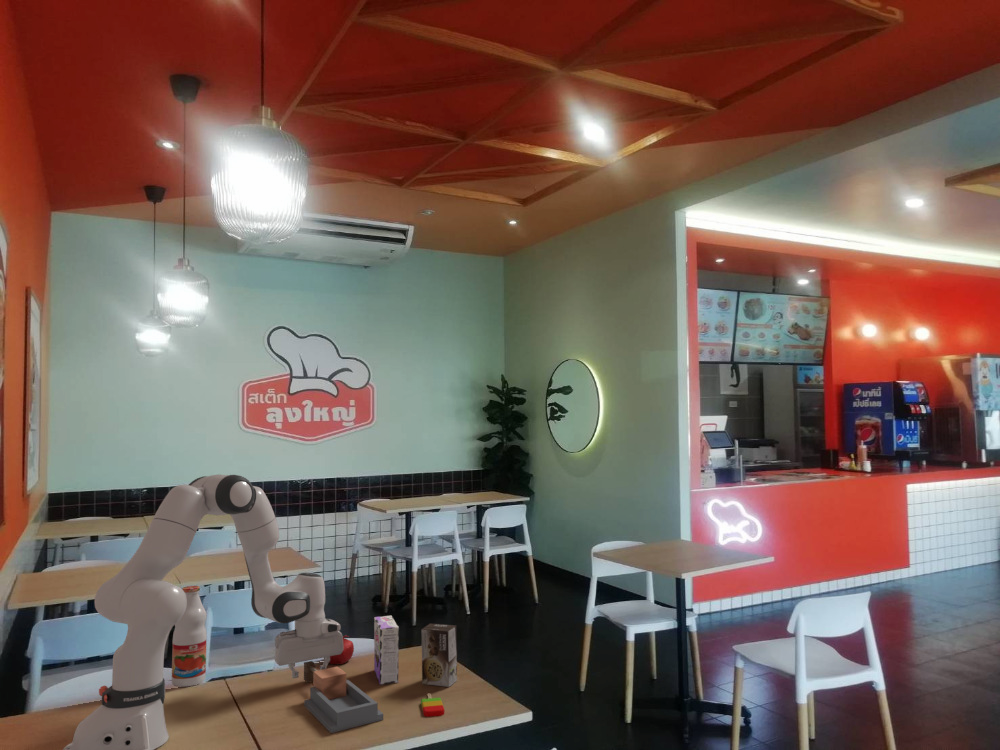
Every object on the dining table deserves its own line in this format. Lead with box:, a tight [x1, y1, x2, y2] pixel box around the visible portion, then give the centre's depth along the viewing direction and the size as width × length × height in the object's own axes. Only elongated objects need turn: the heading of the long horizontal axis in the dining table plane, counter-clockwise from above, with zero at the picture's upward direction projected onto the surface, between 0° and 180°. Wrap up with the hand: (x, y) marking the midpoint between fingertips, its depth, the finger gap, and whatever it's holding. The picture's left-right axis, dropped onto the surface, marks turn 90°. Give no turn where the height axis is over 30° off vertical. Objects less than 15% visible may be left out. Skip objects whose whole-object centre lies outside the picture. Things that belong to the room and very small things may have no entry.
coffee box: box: [420, 623, 458, 688], centre depth 207 cm, size 9×6×16 cm
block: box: [303, 660, 347, 700], centre depth 199 cm, size 7×23×7 cm, turn 34°
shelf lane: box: [303, 679, 384, 734], centre depth 184 cm, size 14×21×4 cm, turn 34°
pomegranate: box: [328, 634, 355, 665], centre depth 226 cm, size 10×10×9 cm
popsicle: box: [420, 692, 445, 718], centre depth 189 cm, size 6×15×2 cm, turn 11°
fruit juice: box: [171, 585, 208, 688], centre depth 210 cm, size 9×9×28 cm
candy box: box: [373, 615, 400, 685], centre depth 212 cm, size 14×6×16 cm, turn 17°
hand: (309, 674), depth 207 cm, fingers open, 7 cm apart
